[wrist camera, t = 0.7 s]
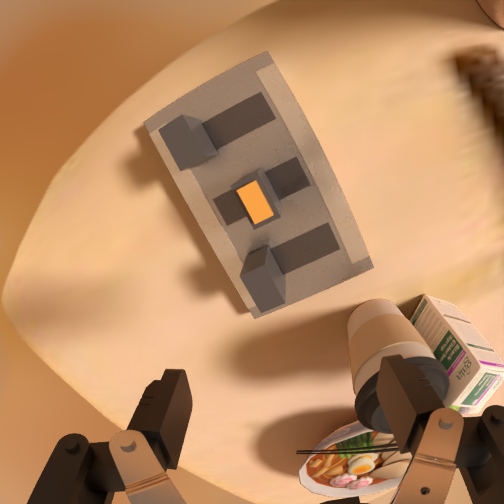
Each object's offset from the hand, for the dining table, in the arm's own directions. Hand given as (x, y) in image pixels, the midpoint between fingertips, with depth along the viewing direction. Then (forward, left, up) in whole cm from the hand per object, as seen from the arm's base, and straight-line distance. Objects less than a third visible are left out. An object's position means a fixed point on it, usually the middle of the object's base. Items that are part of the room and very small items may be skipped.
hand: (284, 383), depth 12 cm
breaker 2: (+3, +2, -20) cm, 20 cm away
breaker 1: (+3, -12, -20) cm, 24 cm away
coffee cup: (-5, +15, -22) cm, 27 cm away
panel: (0, -5, -22) cm, 23 cm away
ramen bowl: (+2, +37, -22) cm, 43 cm away
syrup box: (-12, +18, -22) cm, 31 cm away
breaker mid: (0, -5, -20) cm, 21 cm away
